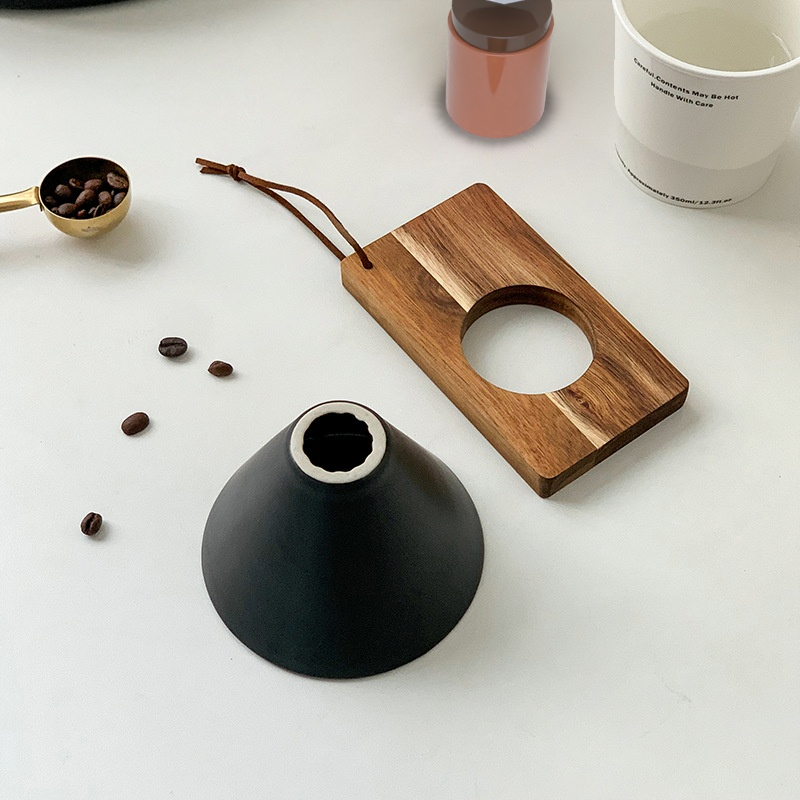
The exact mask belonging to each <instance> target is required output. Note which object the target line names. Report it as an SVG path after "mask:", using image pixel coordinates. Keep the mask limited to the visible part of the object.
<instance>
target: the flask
mask: <svg viewBox="0 0 800 800" xmlns="http://www.w3.org/2000/svg"><path fill="white" fill-rule="evenodd" d="M489 1H493V2H497V3H502V4H507V3H512V2H517V1H522V0H489Z"/></svg>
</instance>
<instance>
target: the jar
mask: <svg viewBox="0 0 800 800" xmlns="http://www.w3.org/2000/svg"><path fill="white" fill-rule="evenodd" d="M554 27H555V19H554V14H553V1H552V0H522V1H517V2H512V3H507V4H502V3H497V2H493V1H489V0H451V7H450V9H449V12H448V15H447V31H446V68H445V69H446V70H445V73H446V74H445V109H446V112H447V114H448V116H449V118H450V119H451V120H452V122H453V123H454V124H455V125H456V126H457V127H459V128H460V129H462V130H464V131H465V132H467V133H469V134H471V135H474V136H476V137H477V136H478V137H482V138H487V139H506V138H511V137H514V136H519V135H521V134H523V133H525V132H528V131H529V130H530V129H533V127H535V125H537V124H538V123H539V122H540V120H541V119H542V117H543V114H544V112H545V107H546V98H547V88H548V81H549V72H550V64H551V63H550V62H551V55H552V47H553V37H554V29H555V28H554Z"/></svg>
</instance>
